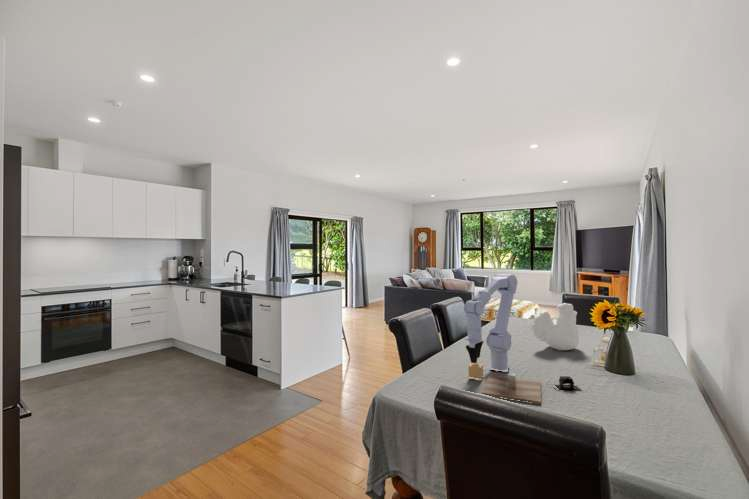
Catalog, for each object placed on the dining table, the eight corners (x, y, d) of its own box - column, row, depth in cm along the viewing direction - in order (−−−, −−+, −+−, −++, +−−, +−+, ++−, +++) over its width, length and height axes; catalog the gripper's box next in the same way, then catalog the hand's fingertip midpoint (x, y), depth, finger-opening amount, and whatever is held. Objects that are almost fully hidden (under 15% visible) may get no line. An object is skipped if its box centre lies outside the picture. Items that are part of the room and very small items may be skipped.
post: (509, 385, 132) (508, 372, 133) (516, 386, 131) (515, 373, 131) (508, 387, 130) (508, 375, 130) (515, 388, 129) (515, 376, 129)
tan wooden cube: (471, 375, 147) (470, 362, 147) (483, 376, 145) (482, 364, 145) (468, 379, 142) (468, 366, 143) (481, 381, 140) (481, 367, 140)
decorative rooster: (572, 344, 188) (571, 300, 188) (586, 353, 173) (584, 305, 173) (526, 344, 192) (524, 301, 192) (535, 352, 176) (533, 305, 177)
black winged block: (553, 392, 128) (553, 381, 128) (546, 385, 135) (545, 374, 135) (588, 393, 127) (587, 381, 127) (578, 385, 134) (578, 374, 134)
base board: (489, 377, 144) (489, 374, 144) (540, 384, 135) (540, 381, 135) (482, 395, 126) (482, 392, 126) (541, 405, 117) (540, 401, 117)
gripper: (468, 324, 152) (469, 354, 152) (461, 331, 139) (462, 364, 139) (484, 325, 149) (485, 355, 149) (479, 332, 136) (480, 366, 136)
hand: (475, 360), depth 144 cm, fingers open, 7 cm apart
